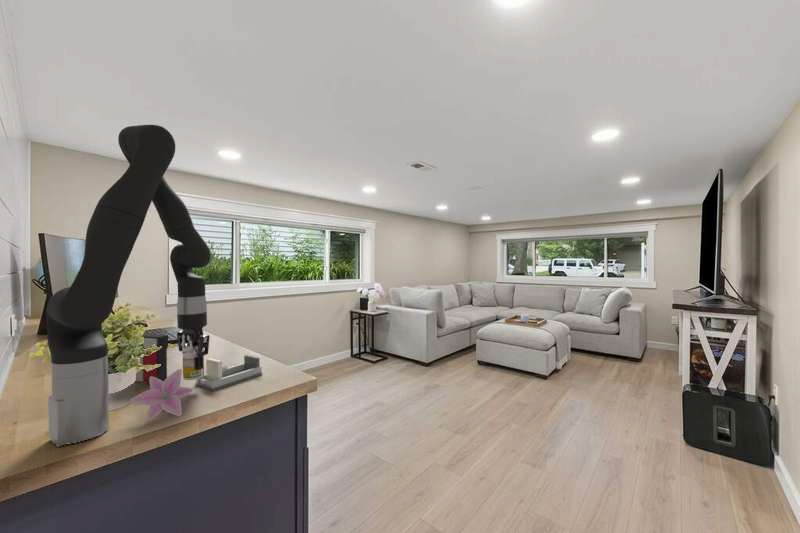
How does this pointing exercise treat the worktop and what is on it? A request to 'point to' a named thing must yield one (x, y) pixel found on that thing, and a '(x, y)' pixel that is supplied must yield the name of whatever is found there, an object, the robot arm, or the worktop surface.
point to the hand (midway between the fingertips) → (193, 367)
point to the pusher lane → (233, 374)
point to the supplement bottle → (191, 365)
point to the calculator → (154, 358)
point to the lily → (163, 395)
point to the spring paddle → (214, 369)
